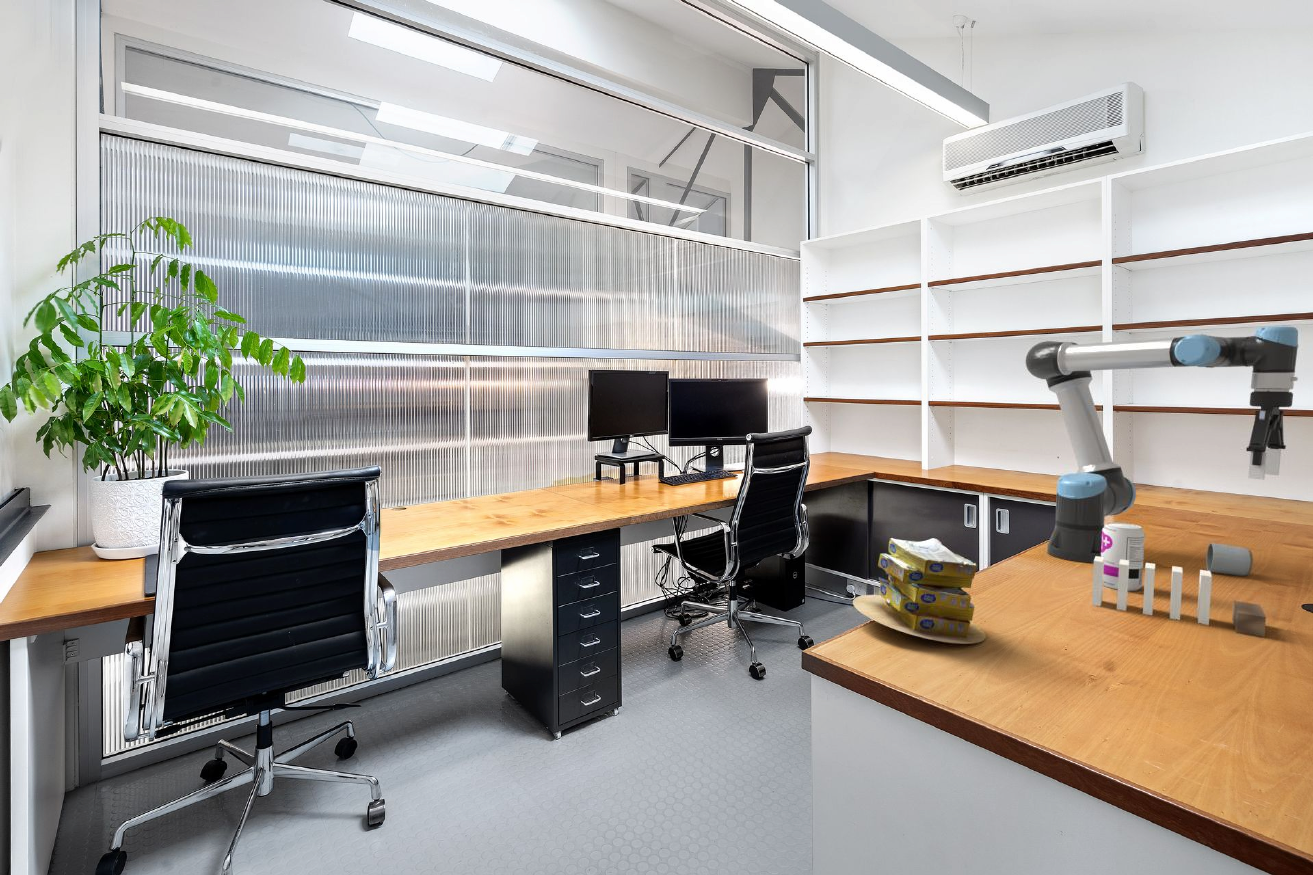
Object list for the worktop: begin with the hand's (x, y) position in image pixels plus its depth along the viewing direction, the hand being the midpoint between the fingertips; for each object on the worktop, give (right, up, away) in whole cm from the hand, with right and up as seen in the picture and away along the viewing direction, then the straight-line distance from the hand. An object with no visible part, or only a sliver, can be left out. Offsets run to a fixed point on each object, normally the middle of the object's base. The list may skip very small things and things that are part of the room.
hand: (1263, 476), depth 157 cm
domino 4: (-41, -28, -23) cm, 55 cm away
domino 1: (-52, -27, -15) cm, 61 cm away
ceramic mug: (-1, -26, +9) cm, 27 cm away
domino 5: (-38, -28, -26) cm, 54 cm away
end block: (-32, -28, -30) cm, 53 cm away
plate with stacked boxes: (-98, -29, -29) cm, 106 cm away
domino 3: (-45, -28, -21) cm, 57 cm away
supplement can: (-38, -27, -3) cm, 46 cm away
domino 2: (-48, -28, -18) cm, 58 cm away
